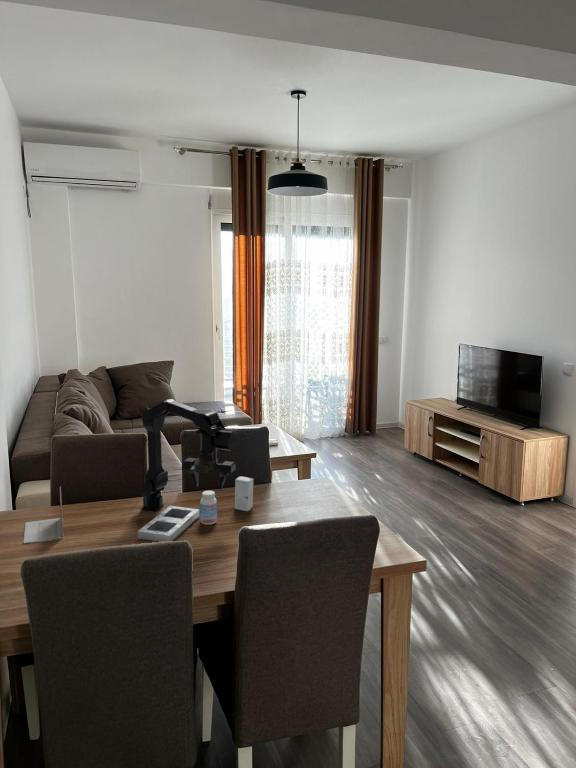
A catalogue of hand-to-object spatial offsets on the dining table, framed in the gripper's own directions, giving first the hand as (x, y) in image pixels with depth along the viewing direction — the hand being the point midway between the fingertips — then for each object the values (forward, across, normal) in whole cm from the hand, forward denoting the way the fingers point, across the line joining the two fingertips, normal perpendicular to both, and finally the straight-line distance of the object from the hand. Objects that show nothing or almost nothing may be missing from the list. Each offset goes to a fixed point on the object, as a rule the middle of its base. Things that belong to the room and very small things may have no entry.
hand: (208, 488), depth 211 cm
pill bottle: (+13, 0, 0) cm, 13 cm away
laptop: (+14, -52, -24) cm, 59 cm away
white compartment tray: (+13, -11, -9) cm, 19 cm away
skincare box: (+13, +8, +15) cm, 22 cm away
